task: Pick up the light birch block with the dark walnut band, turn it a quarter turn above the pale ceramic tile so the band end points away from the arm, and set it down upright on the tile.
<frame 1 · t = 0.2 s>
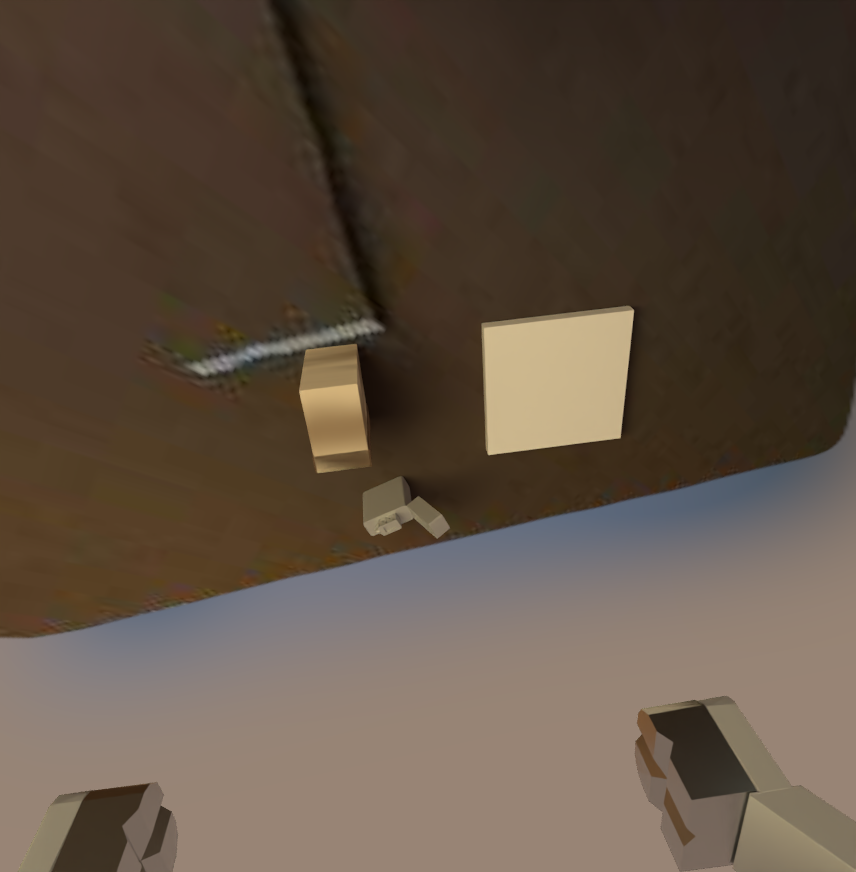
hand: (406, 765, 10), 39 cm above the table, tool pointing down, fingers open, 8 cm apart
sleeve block: (338, 386, 49), on the table
lighter: (400, 483, 55), on the table
tile: (553, 381, 51), on the table
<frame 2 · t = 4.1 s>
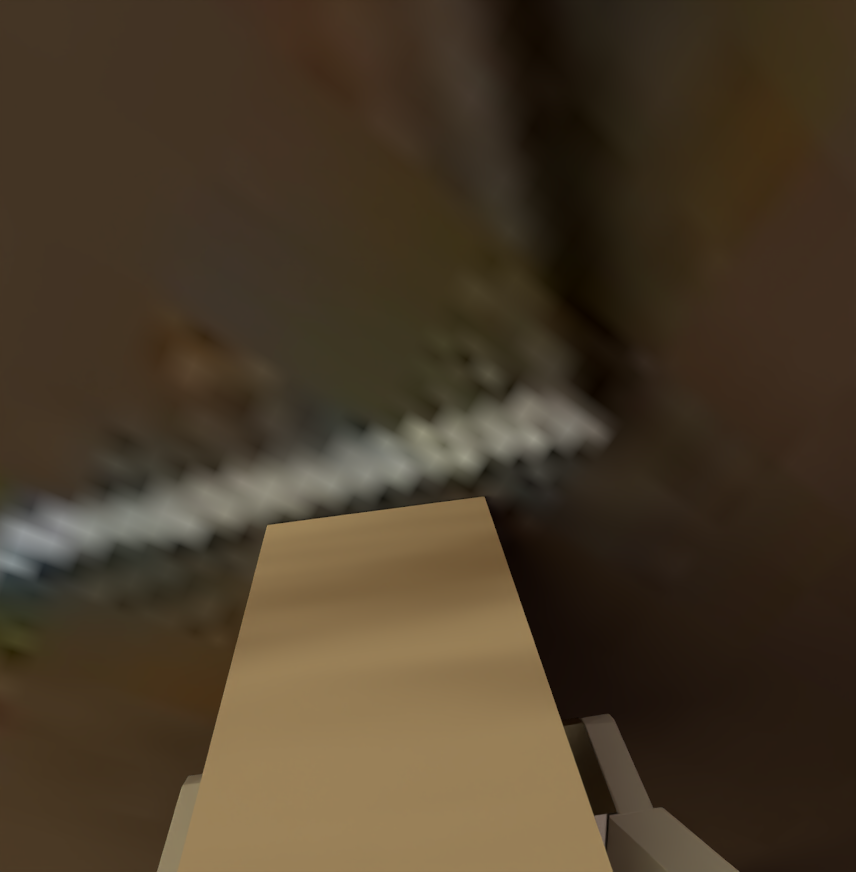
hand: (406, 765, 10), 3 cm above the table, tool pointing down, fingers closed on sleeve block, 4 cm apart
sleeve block: (398, 650, 12), on the table, touching gripper
when the fingers open (5 cm above the table, at t = 12.3 s): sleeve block drops 1 cm, resting on tile.
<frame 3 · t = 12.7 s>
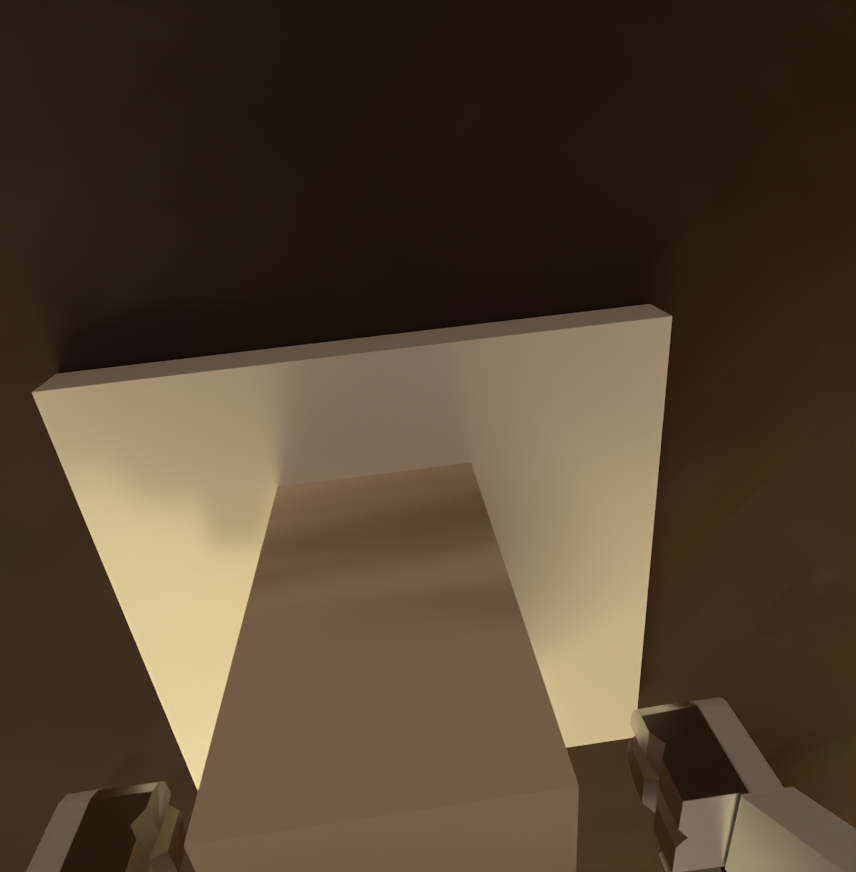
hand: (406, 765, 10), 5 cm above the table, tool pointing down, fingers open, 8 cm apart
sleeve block: (394, 605, 14), point 1 cm above the table, touching tile
lighter: (681, 845, 21), on the table
tile: (394, 573, 15), on the table
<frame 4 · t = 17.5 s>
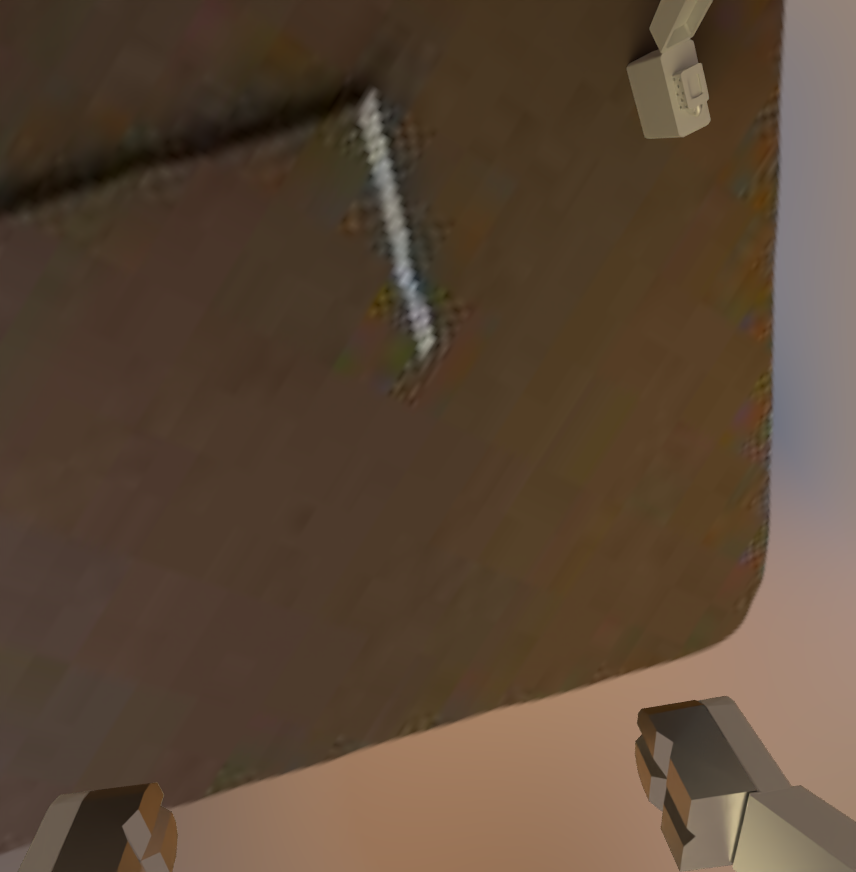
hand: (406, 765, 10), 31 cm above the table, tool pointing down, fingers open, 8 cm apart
lighter: (641, 69, 34), on the table
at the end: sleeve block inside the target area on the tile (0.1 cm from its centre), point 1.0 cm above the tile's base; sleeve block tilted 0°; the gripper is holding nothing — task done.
